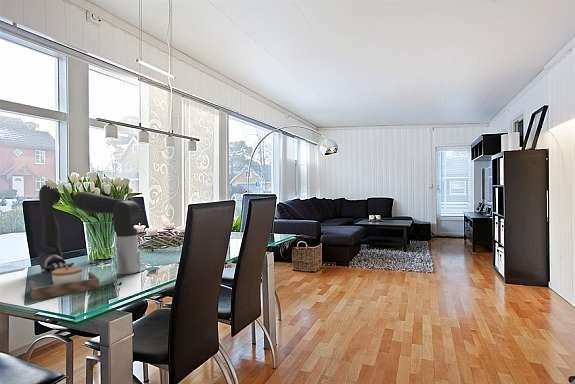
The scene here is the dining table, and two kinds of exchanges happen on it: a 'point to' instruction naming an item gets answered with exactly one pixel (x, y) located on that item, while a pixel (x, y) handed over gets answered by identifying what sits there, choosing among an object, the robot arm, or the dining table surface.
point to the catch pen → (64, 287)
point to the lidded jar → (66, 275)
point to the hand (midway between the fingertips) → (60, 271)
